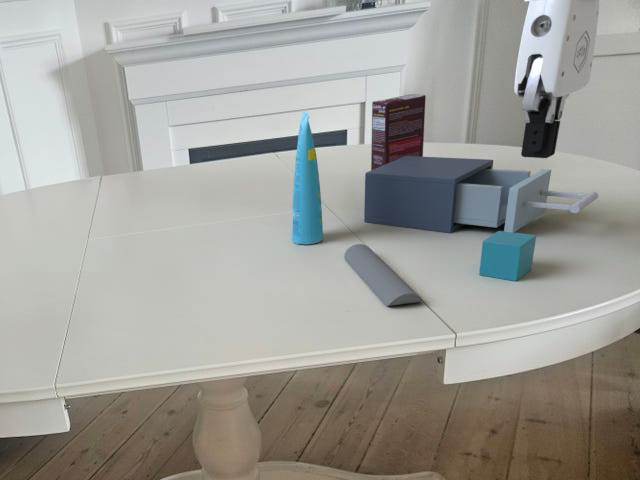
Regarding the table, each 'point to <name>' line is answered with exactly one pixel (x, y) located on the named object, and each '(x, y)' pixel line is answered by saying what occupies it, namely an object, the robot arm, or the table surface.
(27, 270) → the table surface
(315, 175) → the tube
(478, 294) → the table surface
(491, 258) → the teal box
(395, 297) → the gray half cylinder
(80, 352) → the table surface
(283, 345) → the table surface
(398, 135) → the supplement box
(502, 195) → the drawer
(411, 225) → the drawer cabinet
